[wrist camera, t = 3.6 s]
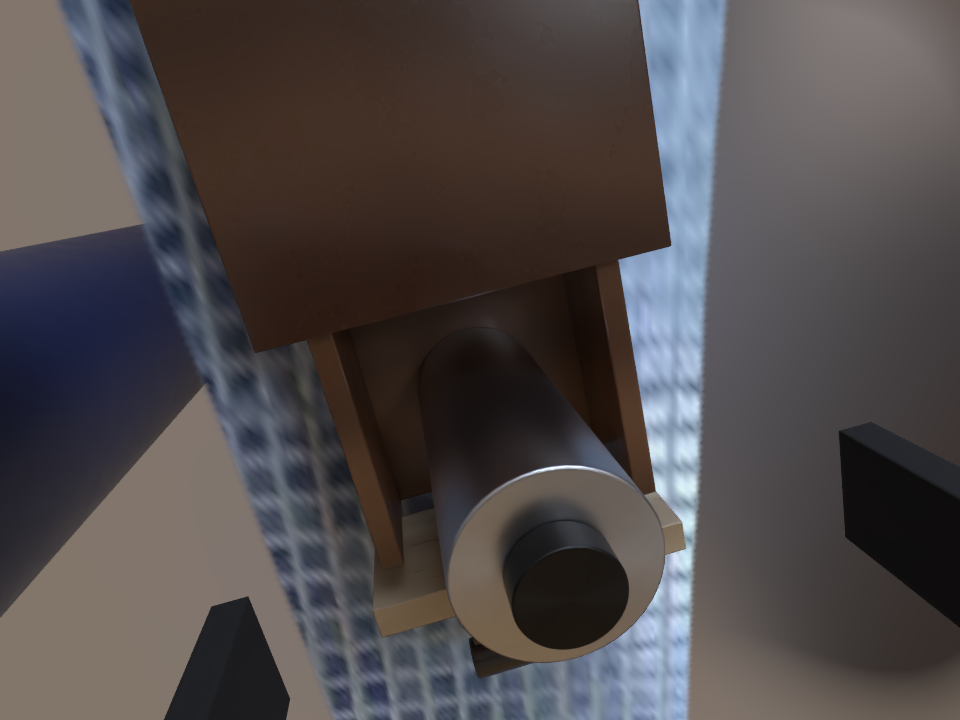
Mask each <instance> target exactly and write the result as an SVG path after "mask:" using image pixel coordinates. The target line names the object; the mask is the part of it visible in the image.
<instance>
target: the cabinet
mask: <svg viewBox="0 0 960 720" xmlns="http://www.w3.org/2000/svg"><path fill="white" fill-rule="evenodd" d="M129 1H130V4H131V7H132V10H133V12H134V15H135V18H136V21H137V24H138V26H139V29H140V32H141V35H142V38H143V40H144V43H145V46H146V49H147V52H148V55H149V57H150V60H151V63H152V66H153V69H154V71H155V74H156V77H157V80H158V83H159V85H160V88H161V91H162V94H163V97H164V100H165V102H166V105H167V108H168V111H169V114H170V116H171V119H172V122H173V125H174V128H175V130H176V133H177V136H178V139H179V142H180V145H181V147H182V150H183V153H184V156H185V159H186V161H187V164H188V167H189V170H190V173H191V175H192V178H193V181H194V184H195V187H196V190H197V192H198V195H199V198H200V201H201V204H202V206H203V209H204V212H205V215H206V218H207V220H208V223H209V226H210V229H211V232H212V234H213V237H214V240H215V243H216V246H217V249H218V251H219V254H220V257H221V260H222V263H223V265H224V268H225V271H226V274H227V277H228V279H229V282H230V285H231V288H232V291H233V294H234V296H235V299H236V302H237V305H238V308H239V310H240V313H241V316H242V319H243V322H244V324H245V327H246V330H247V333H248V336H249V339H250V341H251V344H252V347H253V350H254V352H255V353H258V352H262V351H265V350H269V349H273V348H277V347H281V346H285V345H289V344H293V343H297V342H300V341H304V340H308V339H312V338H316V337H320V336H324V335H328V334H331V333H335V332H339V331H343V330H347V329H351V328H355V327H359V326H363V325H366V324H370V323H374V322H378V321H382V320H386V319H390V318H394V317H398V316H401V315H405V314H409V313H413V312H417V311H421V310H425V309H429V308H433V307H436V306H440V305H444V304H448V303H452V302H456V301H460V300H464V299H467V298H471V297H475V296H479V295H483V294H487V293H491V292H495V291H499V290H502V289H506V288H510V287H514V286H518V285H522V284H526V283H530V282H534V281H537V280H541V279H545V278H549V277H553V276H557V275H561V274H565V273H569V272H572V271H576V270H580V269H584V268H588V267H592V266H596V265H600V264H604V263H607V262H611V261H615V260H619V259H623V258H627V257H631V256H635V255H638V254H642V253H646V252H650V251H654V250H658V249H662V248H666V247H670V246H671V239H670V232H669V224H668V217H667V210H666V202H665V195H664V187H663V180H662V173H661V165H660V158H659V151H658V143H657V136H656V128H655V121H654V114H653V106H652V99H651V92H650V84H649V77H648V69H647V62H646V55H645V47H644V40H643V32H642V25H641V18H640V10H639V3H638V0H129Z"/></svg>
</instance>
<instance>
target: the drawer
mask: <svg viewBox="0 0 960 720" xmlns="http://www.w3.org/2000/svg"><path fill="white" fill-rule="evenodd" d="M471 328H489V329H495V330H498V331H501V332H504V333H506V334H508V335H510V336H512V337H513V338H514V339H516V340H517V341H518V342H519V343H521V344H522V345H523V346H524V348H525V349H526V350H527V351H528V352H529V354H530V355H531V356H532V357H533V359H534V360H535V361H536V362H537V364H538V365H539V366H540V367H541V369H542V370H543V371H544V372H545V373H546V375H547V376H548V377H549V378H550V380H551V381H552V382H553V383H554V385H555V386H556V387H557V388H558V390H559V391H560V392H561V393H562V394H563V396H564V397H565V398H566V399H567V401H568V402H569V403H570V404H571V406H572V407H573V408H574V409H575V410H576V412H577V413H578V414H579V415H580V417H581V418H582V419H583V420H584V422H585V423H586V424H587V425H588V427H589V428H590V429H591V430H592V431H593V433H594V434H595V435H596V436H597V438H598V439H599V440H600V441H601V443H602V444H603V445H604V446H605V448H606V449H607V450H608V451H609V452H610V454H611V455H612V456H613V457H614V459H615V460H616V461H617V462H618V464H619V465H620V466H621V467H622V469H623V470H624V471H625V472H626V473H627V475H628V476H629V477H630V478H631V480H632V481H633V482H634V483H635V485H636V486H637V487H638V488H639V489H640V491H641V492H642V493H643V494H644V496H645V497H646V498H647V499H648V501H649V502H650V503H651V505H652V507H653V508H654V510H655V512H656V513H657V516H658V518H659V520H660V523H661V526H662V530H663V534H664V541H665V555H666V554H670V553H673V552H676V551H680V550H683V549H686V545H685V538H684V532H683V525H682V521H681V520H680V519H679V518H678V516H677V515H676V514H675V513H674V512H673V511H672V509H671V508H670V507H669V506H668V505H667V504H666V502H665V501H664V500H663V499H662V498H661V497H660V495H659V494H658V493H657V492H656V491H655V483H654V477H653V471H652V465H651V459H650V453H649V446H648V440H647V434H646V428H645V422H644V416H643V409H642V403H641V397H640V391H639V385H638V379H637V373H636V366H635V360H634V354H633V348H632V342H631V336H630V329H629V323H628V317H627V311H626V305H625V299H624V292H623V286H622V280H621V274H620V268H619V262H618V260H615V261H611V262H607V263H604V264H600V265H596V266H592V267H588V268H584V269H580V270H576V271H572V272H569V273H565V274H561V275H557V276H553V277H549V278H545V279H541V280H537V281H534V282H530V283H526V284H522V285H518V286H514V287H510V288H506V289H502V290H499V291H495V292H491V293H487V294H483V295H479V296H475V297H471V298H467V299H464V300H460V301H456V302H452V303H448V304H444V305H440V306H436V307H433V308H429V309H425V310H421V311H417V312H413V313H409V314H405V315H401V316H398V317H394V318H390V319H386V320H382V321H378V322H374V323H370V324H366V325H363V326H359V327H355V328H351V329H347V330H343V331H339V332H335V333H331V334H328V335H324V336H320V337H316V338H312V339H308V340H307V342H308V345H309V348H310V351H311V354H312V357H313V360H314V363H315V367H316V370H317V373H318V376H319V379H320V382H321V385H322V388H323V391H324V394H325V397H326V400H327V403H328V406H329V409H330V412H331V415H332V419H333V422H334V425H335V428H336V431H337V434H338V437H339V440H340V443H341V446H342V449H343V452H344V455H345V458H346V461H347V464H348V467H349V471H350V474H351V477H352V480H353V483H354V486H355V489H356V492H357V495H358V498H359V501H360V504H361V507H362V510H363V513H364V516H365V519H366V523H367V526H368V529H369V532H370V535H371V538H372V541H373V544H374V547H375V558H374V590H373V613H374V616H375V619H376V622H377V625H378V628H379V631H380V634H381V636H382V637H386V636H389V635H393V634H396V633H400V632H403V631H407V630H410V629H413V628H417V627H420V626H424V625H427V624H430V623H434V622H437V621H441V620H444V619H448V618H451V617H454V616H455V614H454V612H453V610H452V607H451V605H450V602H449V599H448V594H447V590H446V584H445V577H444V570H443V563H442V556H441V550H440V543H439V536H438V529H437V522H436V515H435V508H432V509H429V510H425V511H421V512H418V513H414V514H411V515H407V516H404V517H402V510H401V500H403V499H407V498H411V497H414V496H418V495H421V494H425V493H429V492H432V488H431V481H430V474H429V467H428V460H427V453H426V446H425V439H424V433H423V426H422V419H421V412H420V405H419V398H418V378H419V374H420V370H421V368H422V365H423V363H424V361H425V359H426V357H427V356H428V355H429V353H430V352H431V351H432V350H433V348H434V347H435V346H436V345H437V344H439V343H440V342H441V341H442V340H444V339H445V338H447V337H448V336H450V335H452V334H454V333H456V332H459V331H462V330H466V329H471ZM469 645H470V650H471V655H472V659H473V663H474V667H475V670H476V674H477V676H478V678H479V679H482V678H485V677H488V676H492V675H495V674H498V673H502V672H505V671H508V670H512V669H515V668H518V667H522V666H525V665H528V664H532V663H534V662H524V661H519V660H515V659H510V658H508V657H505V656H502V655H499V654H497V653H495V652H493V651H491V650H489V649H487V648H486V647H484V646H483V645H482V644H480V643H479V642H477V641H476V640H475V639H474V638H473V637H471V638H469Z"/></svg>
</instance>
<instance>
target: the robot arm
mask: <svg viewBox="0 0 960 720" xmlns="http://www.w3.org/2000/svg"><path fill="white" fill-rule="evenodd" d="M839 441H840V456H841V473H842V490H843V505H844V522H845V537H846V538H847V539H848V540H850V541H851V542H852V543H854V544H855V545H856V546H857V547H859V548H860V549H861V550H862V551H864V552H865V553H866V554H867V555H869V556H870V557H871V558H873V559H874V560H875V561H876V562H878V563H879V564H880V565H881V566H883V567H884V568H885V569H886V570H888V571H889V572H890V573H891V574H893V575H894V576H895V577H897V578H898V579H899V580H901V581H902V582H903V583H904V584H905V585H907V586H908V587H909V588H910V589H912V590H913V591H914V592H916V593H917V594H918V595H919V596H921V597H922V598H923V599H924V600H926V601H927V602H928V603H930V604H931V605H932V606H933V607H934V608H936V609H937V610H938V611H939V612H941V613H942V614H943V615H944V616H946V617H947V618H948V619H950V620H951V621H952V622H953V623H955V624H956V625H957V626H958V627H960V467H959V466H957V465H955V464H953V463H951V462H949V461H947V460H945V459H943V458H941V457H939V456H937V455H935V454H933V453H931V452H929V451H927V450H925V449H923V448H921V447H919V446H917V445H915V444H913V443H911V442H909V441H907V440H905V439H904V438H902V437H900V436H898V435H895V434H894V433H892V432H890V431H888V430H886V429H884V428H882V427H880V426H878V425H876V424H874V423H872V422H870V423H866V424H862V425H859V426H855V427H852V428H848V429H845V430H841V431H839ZM289 701H290V698H289V695H288V693H287V690H286V688H285V685H284V683H283V681H282V678H281V675H280V673H279V671H278V668H277V666H276V664H275V661H274V658H273V656H272V653H271V651H270V649H269V646H268V644H267V641H266V639H265V636H264V634H263V631H262V629H261V627H260V624H259V622H258V619H257V617H256V615H255V612H254V610H253V607H252V604H251V602H250V600H249V597H244V598H240V599H237V600H234V601H230V602H226V603H223V604H219V605H215V606H212V607H211V609H210V611H209V614H208V616H207V618H206V621H205V623H204V626H203V628H202V631H201V633H200V635H199V638H198V640H197V642H196V645H195V647H194V649H193V652H192V654H191V657H190V659H189V661H188V664H187V666H186V669H185V671H184V673H183V676H182V678H181V680H180V683H179V685H178V687H177V690H176V692H175V695H174V697H173V699H172V702H171V704H170V707H169V709H168V711H167V714H166V716H165V719H164V720H286V717H287V712H288V707H289Z"/></svg>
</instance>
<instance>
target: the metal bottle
mask: <svg viewBox="0 0 960 720" xmlns="http://www.w3.org/2000/svg"><path fill="white" fill-rule="evenodd" d="M418 398H419V405H420V412H421V419H422V426H423V433H424V439H425V446H426V453H427V460H428V467H429V474H430V481H431V488H432V495H433V501H434V508H435V515H436V522H437V529H438V536H439V543H440V550H441V556H442V563H443V570H444V577H445V584H446V590H447V594H448V599H449V602H450V605H451V607H452V610H453V612H454V614H455V616H456V617H457V619H458V621H459V622H460V624H461V625H462V626H463V627H464V629H465V630H466V631H467V632H468V633H469V634H470V635H471V636H472V637H473V638H474V639H475V640H476V641H477V642H479V643H480V644H482V645H483V646H484V647H486V648H487V649H489V650H491V651H493V652H495V653H497V654H499V655H502V656H505V657H508V658H510V659H515V660H519V661H524V662H534V663H552V662H559V661H566V660H570V659H574V658H578V657H581V656H584V655H586V654H589V653H592V652H594V651H596V650H598V649H600V648H602V647H604V646H606V645H607V644H609V643H611V642H612V641H614V640H615V639H617V638H618V637H619V636H621V635H622V634H623V633H625V632H626V631H627V630H628V629H629V628H630V627H631V626H632V625H633V624H634V623H635V622H636V621H637V620H638V619H639V618H640V616H641V615H642V614H643V613H644V612H645V610H646V609H647V607H648V606H649V604H650V602H651V601H652V599H653V597H654V595H655V593H656V591H657V589H658V586H659V584H660V581H661V578H662V574H663V569H664V564H665V541H664V534H663V530H662V526H661V523H660V520H659V518H658V516H657V513H656V512H655V510H654V508H653V507H652V505H651V503H650V502H649V501H648V499H647V498H646V497H645V496H644V494H643V493H642V492H641V491H640V489H639V488H638V487H637V486H636V485H635V483H634V482H633V481H632V480H631V478H630V477H629V476H628V475H627V473H626V472H625V471H624V470H623V469H622V467H621V466H620V465H619V464H618V462H617V461H616V460H615V459H614V457H613V456H612V455H611V454H610V452H609V451H608V450H607V449H606V448H605V446H604V445H603V444H602V443H601V441H600V440H599V439H598V438H597V436H596V435H595V434H594V433H593V431H592V430H591V429H590V428H589V427H588V425H587V424H586V423H585V422H584V420H583V419H582V418H581V417H580V415H579V414H578V413H577V412H576V410H575V409H574V408H573V407H572V406H571V404H570V403H569V402H568V401H567V399H566V398H565V397H564V396H563V394H562V393H561V392H560V391H559V390H558V388H557V387H556V386H555V385H554V383H553V382H552V381H551V380H550V378H549V377H548V376H547V375H546V373H545V372H544V371H543V370H542V369H541V367H540V366H539V365H538V364H537V362H536V361H535V360H534V359H533V357H532V356H531V355H530V354H529V352H528V351H527V350H526V349H525V348H524V346H523V345H522V344H521V343H519V342H518V341H517V340H516V339H514V338H513V337H512V336H510V335H508V334H506V333H504V332H501V331H498V330H495V329H489V328H471V329H466V330H462V331H459V332H456V333H454V334H452V335H450V336H448V337H447V338H445V339H444V340H442V341H441V342H440V343H439V344H437V345H436V346H435V347H434V348H433V350H432V351H431V352H430V353H429V355H428V356H427V357H426V359H425V361H424V363H423V365H422V368H421V370H420V374H419V378H418Z"/></svg>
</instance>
